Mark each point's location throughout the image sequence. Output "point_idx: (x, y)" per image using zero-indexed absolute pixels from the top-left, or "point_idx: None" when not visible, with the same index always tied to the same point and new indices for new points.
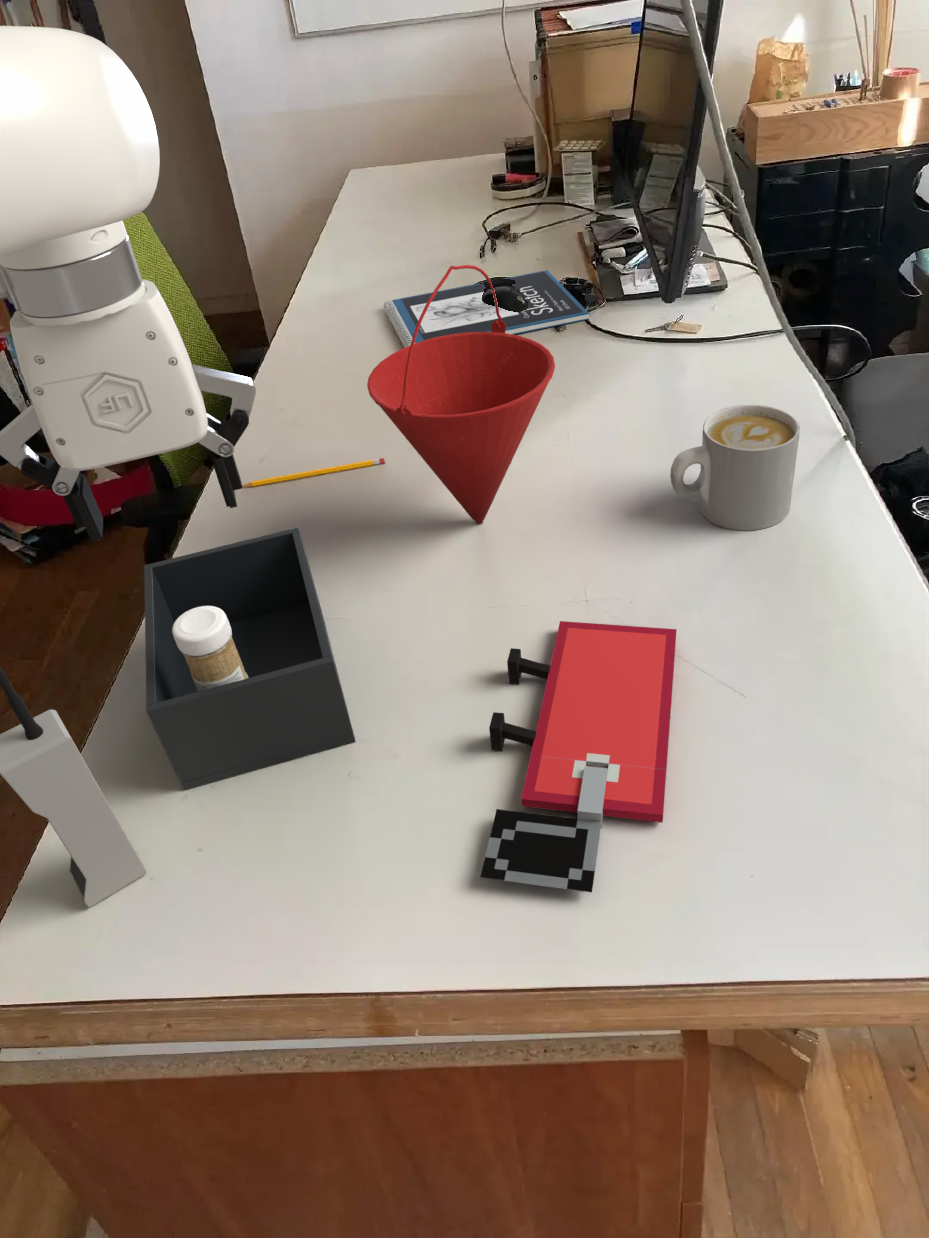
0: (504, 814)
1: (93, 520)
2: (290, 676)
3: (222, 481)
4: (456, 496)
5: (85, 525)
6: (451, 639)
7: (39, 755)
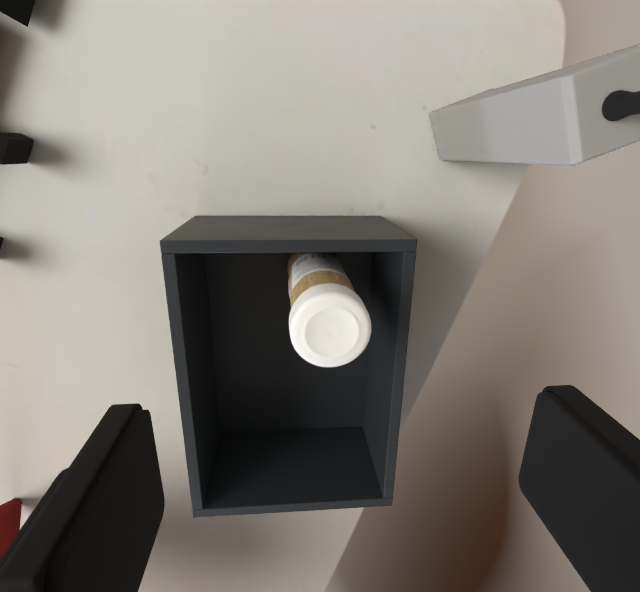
0: (18, 13)
1: (588, 432)
2: (225, 239)
3: (85, 481)
4: (7, 533)
5: (613, 420)
6: (68, 331)
7: (612, 56)
